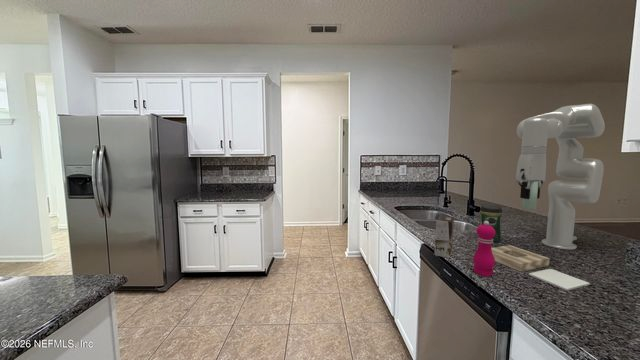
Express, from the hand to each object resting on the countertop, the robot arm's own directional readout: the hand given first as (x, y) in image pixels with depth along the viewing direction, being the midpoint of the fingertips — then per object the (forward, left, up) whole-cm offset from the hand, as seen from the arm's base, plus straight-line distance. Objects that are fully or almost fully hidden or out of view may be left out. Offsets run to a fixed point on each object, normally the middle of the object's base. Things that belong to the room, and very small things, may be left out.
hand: (529, 197), depth 105 cm
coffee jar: (-15, -27, -28) cm, 42 cm away
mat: (+1, +13, -27) cm, 30 cm away
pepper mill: (+21, 0, -28) cm, 35 cm away
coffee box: (+21, -20, -28) cm, 41 cm away
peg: (0, 0, -4) cm, 4 cm away
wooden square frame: (-1, -4, -27) cm, 28 cm away
